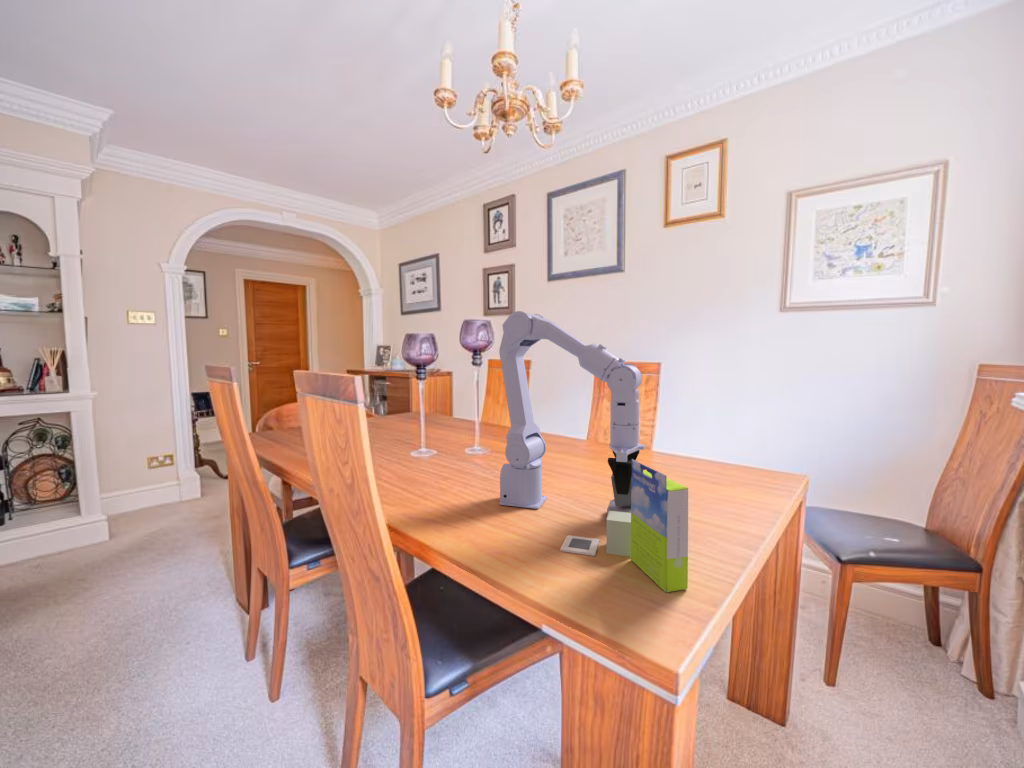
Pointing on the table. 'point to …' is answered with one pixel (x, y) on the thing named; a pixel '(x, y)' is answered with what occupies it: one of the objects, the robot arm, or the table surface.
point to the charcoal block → (621, 495)
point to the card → (580, 545)
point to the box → (659, 527)
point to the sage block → (618, 533)
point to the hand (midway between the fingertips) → (624, 488)
